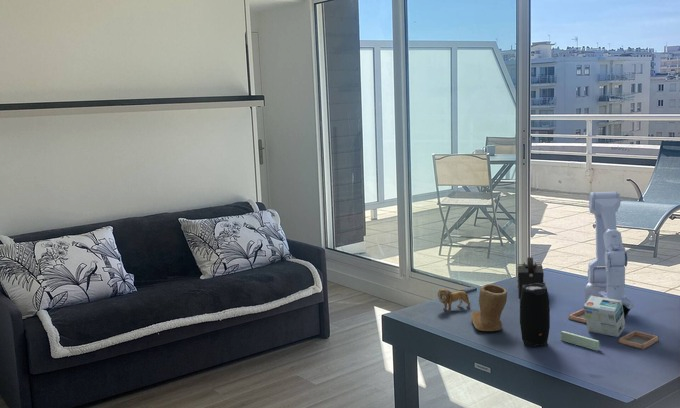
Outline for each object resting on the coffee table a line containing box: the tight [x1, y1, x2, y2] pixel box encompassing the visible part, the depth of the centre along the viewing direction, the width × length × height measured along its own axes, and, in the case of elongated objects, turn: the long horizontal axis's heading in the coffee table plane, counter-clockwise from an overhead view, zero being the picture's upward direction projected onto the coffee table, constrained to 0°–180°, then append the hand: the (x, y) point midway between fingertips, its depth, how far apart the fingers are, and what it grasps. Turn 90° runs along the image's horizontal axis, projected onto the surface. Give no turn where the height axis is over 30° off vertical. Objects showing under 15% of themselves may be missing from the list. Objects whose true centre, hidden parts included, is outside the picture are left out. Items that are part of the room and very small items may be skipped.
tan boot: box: [470, 283, 508, 332], centre depth 241 cm, size 15×12×15 cm
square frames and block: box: [560, 308, 659, 351], centre depth 229 cm, size 32×29×3 cm
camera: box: [516, 256, 547, 299], centre depth 274 cm, size 11×14×15 cm
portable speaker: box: [519, 283, 551, 348], centre depth 222 cm, size 9×9×20 cm
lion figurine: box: [437, 288, 471, 312], centre depth 262 cm, size 15×5×9 cm, turn 117°
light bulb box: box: [583, 296, 626, 338], centre depth 228 cm, size 11×7×11 cm, turn 48°
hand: (615, 323), depth 233 cm, fingers open, 4 cm apart
